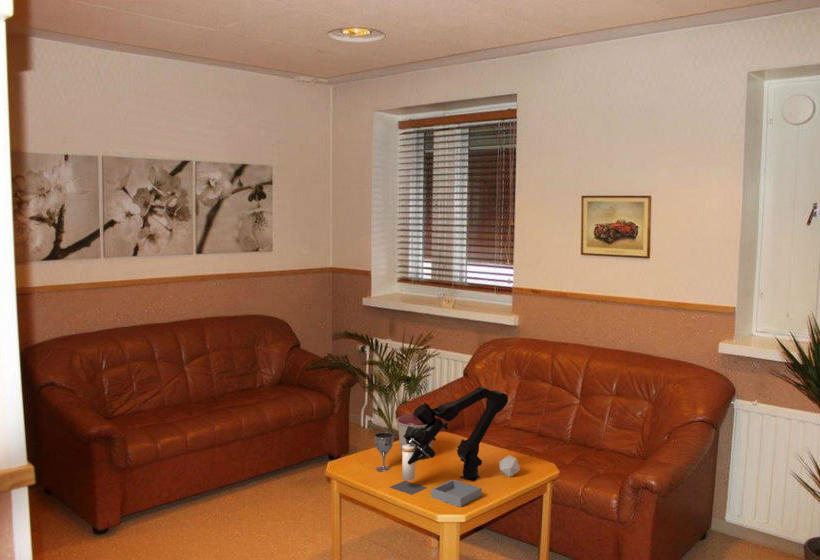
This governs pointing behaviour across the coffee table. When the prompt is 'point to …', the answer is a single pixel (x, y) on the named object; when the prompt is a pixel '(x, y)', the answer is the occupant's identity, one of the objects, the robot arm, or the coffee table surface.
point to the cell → (407, 469)
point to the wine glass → (383, 447)
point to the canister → (404, 423)
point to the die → (509, 465)
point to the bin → (456, 493)
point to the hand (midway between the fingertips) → (405, 461)
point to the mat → (408, 487)
